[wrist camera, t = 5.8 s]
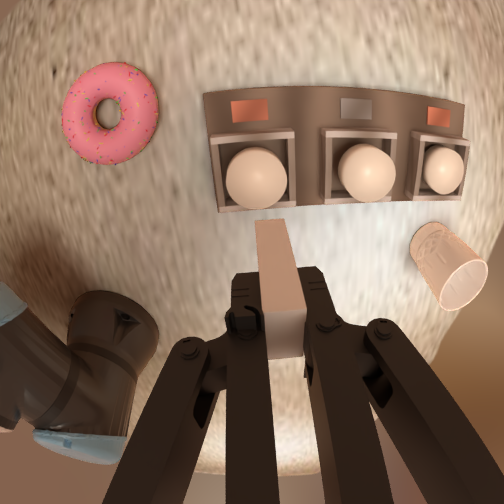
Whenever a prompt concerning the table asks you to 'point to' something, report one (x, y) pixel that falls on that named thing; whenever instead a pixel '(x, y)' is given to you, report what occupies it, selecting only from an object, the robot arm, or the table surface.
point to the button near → (256, 178)
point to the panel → (331, 138)
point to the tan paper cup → (448, 266)
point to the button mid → (366, 172)
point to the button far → (442, 169)
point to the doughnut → (132, 110)
